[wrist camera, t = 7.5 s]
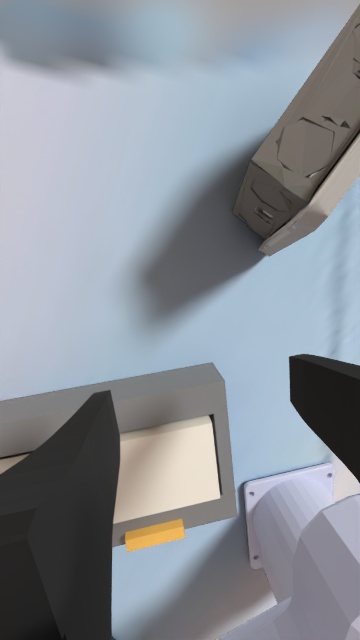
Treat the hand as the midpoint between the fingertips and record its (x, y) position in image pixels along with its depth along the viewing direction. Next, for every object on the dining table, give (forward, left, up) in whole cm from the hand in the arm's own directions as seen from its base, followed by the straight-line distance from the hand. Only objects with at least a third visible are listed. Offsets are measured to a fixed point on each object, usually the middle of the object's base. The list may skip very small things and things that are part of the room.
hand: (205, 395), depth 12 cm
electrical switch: (+9, -8, -10) cm, 15 cm away
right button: (-9, +3, -8) cm, 12 cm away
